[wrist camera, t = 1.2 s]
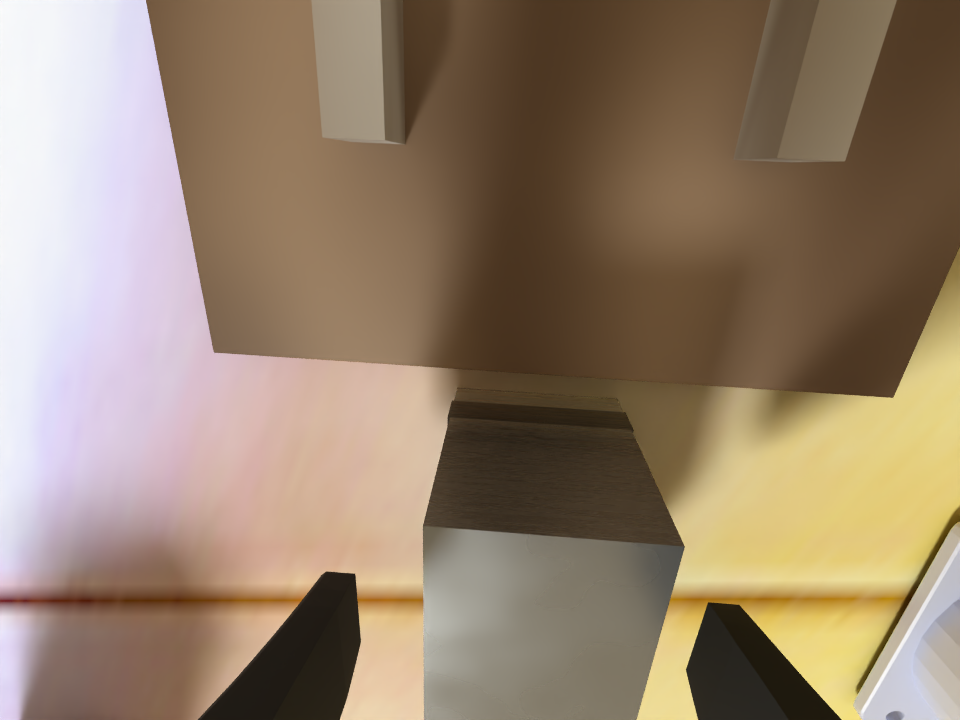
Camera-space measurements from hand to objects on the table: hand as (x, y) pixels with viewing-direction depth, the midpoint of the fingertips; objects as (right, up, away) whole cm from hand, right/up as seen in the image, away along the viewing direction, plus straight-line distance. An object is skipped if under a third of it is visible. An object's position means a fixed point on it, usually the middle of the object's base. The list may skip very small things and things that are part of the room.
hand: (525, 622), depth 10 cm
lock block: (0, +1, +3) cm, 4 cm away
